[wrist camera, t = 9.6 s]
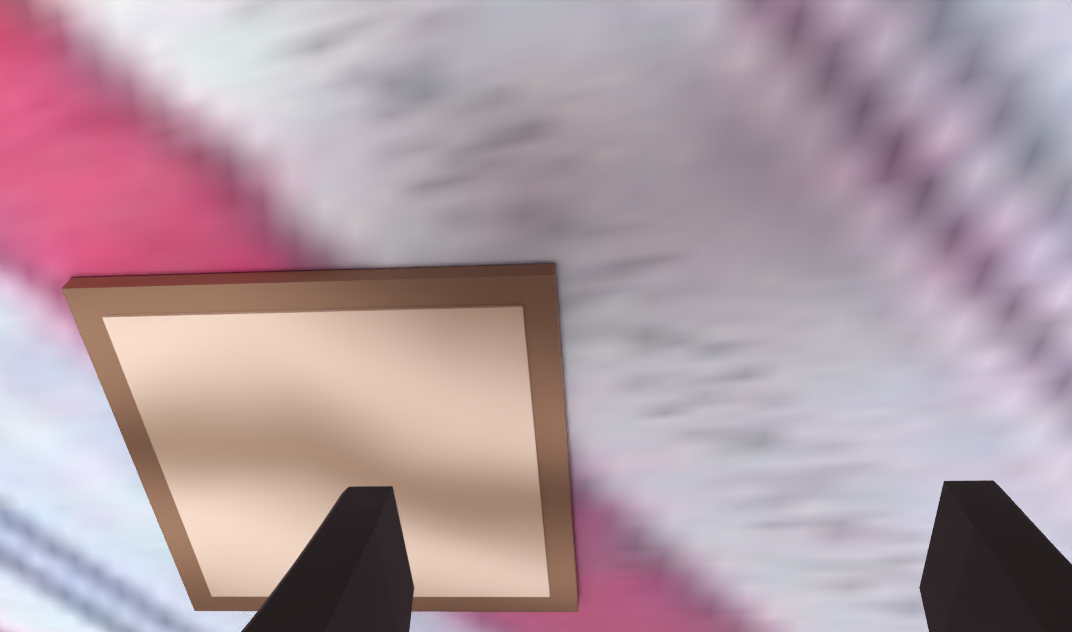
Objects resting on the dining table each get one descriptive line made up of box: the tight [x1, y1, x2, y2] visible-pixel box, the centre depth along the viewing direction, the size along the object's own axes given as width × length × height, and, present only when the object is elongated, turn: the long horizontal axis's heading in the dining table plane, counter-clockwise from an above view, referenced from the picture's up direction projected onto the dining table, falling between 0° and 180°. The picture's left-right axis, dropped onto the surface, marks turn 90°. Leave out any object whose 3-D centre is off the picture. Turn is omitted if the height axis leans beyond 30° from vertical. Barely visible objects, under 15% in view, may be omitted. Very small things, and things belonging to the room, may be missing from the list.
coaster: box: [62, 264, 578, 612], centre depth 26 cm, size 12×12×1 cm
